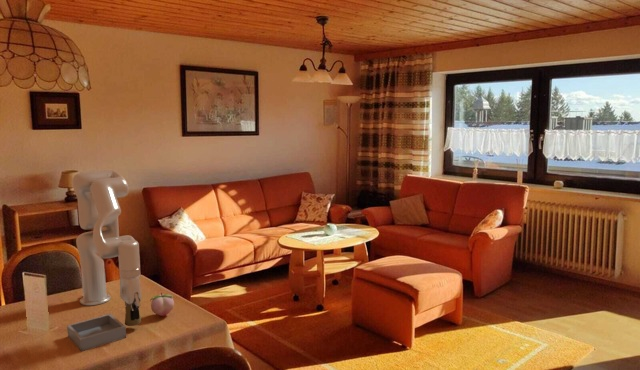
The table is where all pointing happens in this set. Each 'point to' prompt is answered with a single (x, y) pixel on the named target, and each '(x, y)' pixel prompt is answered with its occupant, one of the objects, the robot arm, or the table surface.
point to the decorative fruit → (162, 304)
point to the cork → (128, 318)
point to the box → (96, 332)
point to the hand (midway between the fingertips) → (132, 316)
